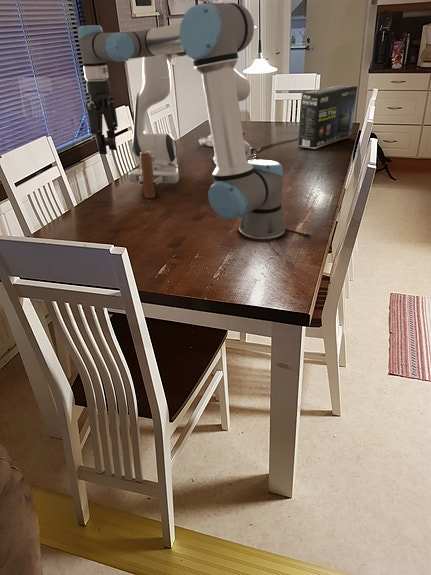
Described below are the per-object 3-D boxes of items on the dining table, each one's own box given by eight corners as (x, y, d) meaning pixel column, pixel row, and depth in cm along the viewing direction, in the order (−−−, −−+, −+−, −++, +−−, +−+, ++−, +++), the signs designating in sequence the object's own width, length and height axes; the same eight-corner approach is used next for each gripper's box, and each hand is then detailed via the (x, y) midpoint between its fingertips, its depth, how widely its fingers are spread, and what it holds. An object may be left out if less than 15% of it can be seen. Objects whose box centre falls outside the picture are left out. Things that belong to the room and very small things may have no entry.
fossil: (222, 142, 237) (203, 124, 241) (211, 159, 244) (193, 141, 247) (239, 140, 251) (221, 123, 254) (229, 157, 258) (211, 140, 261)
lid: (116, 142, 162) (115, 137, 161) (112, 146, 158) (111, 140, 157) (102, 142, 163) (101, 137, 162) (97, 146, 158) (96, 140, 157)
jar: (142, 196, 184) (137, 151, 175) (152, 193, 186) (147, 149, 177) (147, 199, 180) (142, 154, 171) (157, 196, 183) (153, 152, 173)
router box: (314, 151, 231) (318, 94, 217) (296, 148, 237) (299, 92, 224) (352, 138, 251) (358, 85, 238) (335, 135, 258) (340, 83, 245)
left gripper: (134, 163, 191) (121, 173, 180) (181, 164, 187) (171, 175, 176) (135, 178, 194) (123, 189, 183) (182, 179, 190) (173, 191, 179)
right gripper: (89, 84, 141) (101, 159, 153) (122, 76, 155) (131, 146, 167) (70, 83, 144) (83, 157, 156) (104, 76, 158) (113, 144, 170)
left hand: (147, 182), depth 179 cm, fingers closed on jar, 4 cm apart
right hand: (108, 151), depth 161 cm, fingers closed on lid, 5 cm apart
